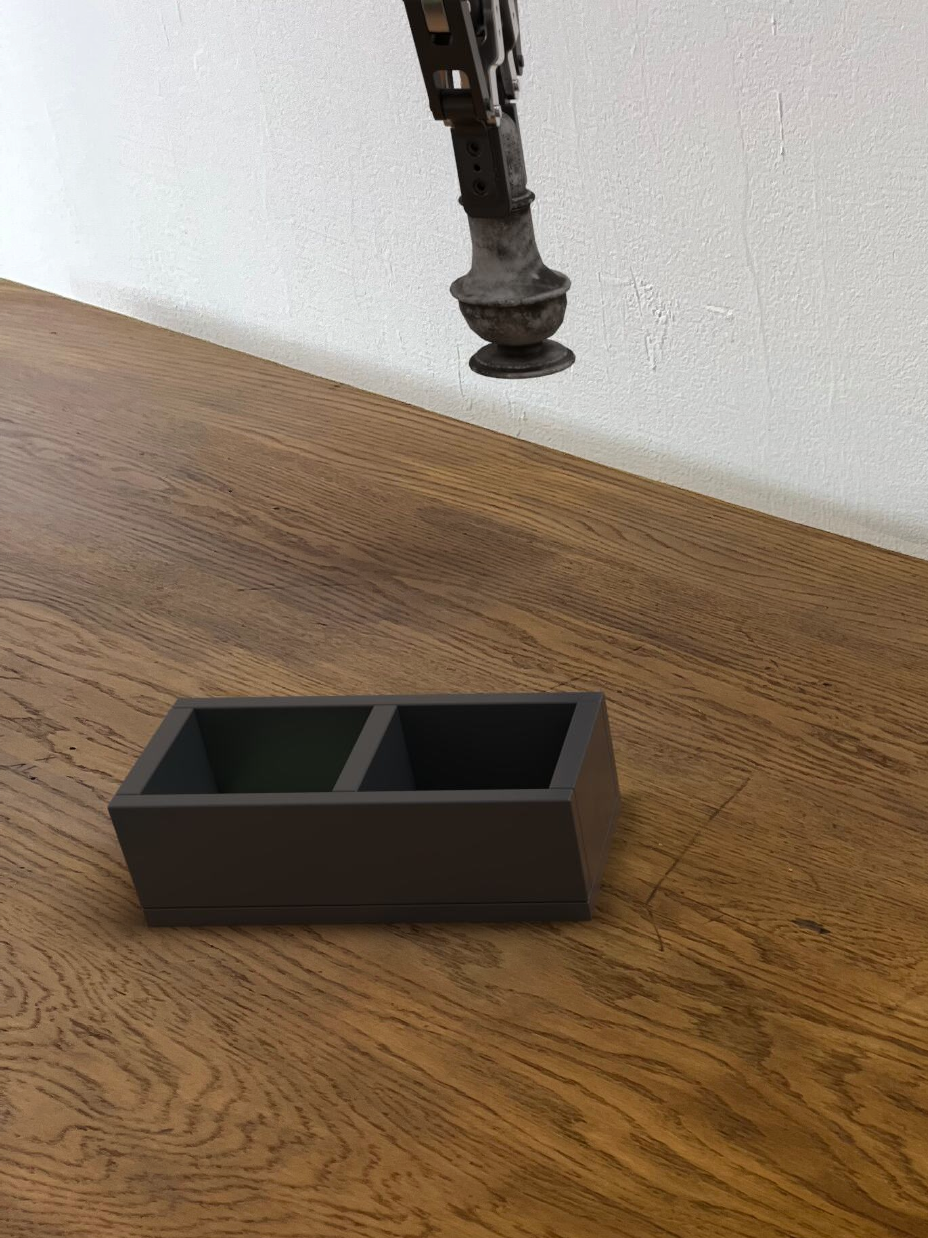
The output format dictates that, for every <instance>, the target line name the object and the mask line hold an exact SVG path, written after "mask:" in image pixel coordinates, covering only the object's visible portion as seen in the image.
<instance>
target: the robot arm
mask: <svg viewBox="0 0 928 1238" xmlns="http://www.w3.org/2000/svg"><path fill="white" fill-rule="evenodd" d="M401 1H402V3H403V5H404V10H405V13H406V17H407V20H408V25H409V28H410V33H411V36H412V40H413V44H414V49H415V51H416V56H417V59H418V64H419V67H420V71H421V75H422V79H423V83H424V87H425V89H426V90H425V92H426V95H427V98H428V107H429V111H430V112H431V113H432V116H433V120H434V121H436V122H437V121H438V122H441V121H442V122H443V125H444V127H445V128H449V130H450V131H449V132H450V136H451V142H452V148H453V153H454V154H453V155H454V161H455V168H456V173H457V179H458V184H459V191H460V196H461V197H462V203H463V206H462V208H463V210H464V211H463V212H465V213H466V216H467V215H469V216H470V217H472V218H504V217H506V216H507V215H508V214H509V213H510V211H511V209H512V206H513V202H512V195H511V189H510V182H509V176H508V169H507V162H506V156H505V149H504V143H503V136H502V130H501V125H500V118H501V117H502V112H504V113H505V114H507V115H508V116H510V118H511V119H512V120H513V121H514V123H515V125H516V128H517V130H518V137H519V144H520V151H521V158H522V164H523V171H524V178H525V185H526V186H527V184H528V176H527V169H526V162H525V156H524V148H523V142H522V135H521V128H520V122H519V114H518V107H517V103H516V102H511V101H519V99H520V98H519V97H520V93H521V83H520V82H521V81H520V79H519V78H518V77H522V76H523V72H524V68H525V59H524V55H523V51H522V41H521V30H520V29H521V28H520V15H519V6H518V5H519V4H518V0H401ZM453 71H458V73H459V79H460V87H458V88H457V87H455V84H454V83H455V82H454V75H453ZM501 111H502V112H501Z"/></svg>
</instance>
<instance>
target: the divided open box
mask: <svg viewBox="0 0 928 1238" xmlns="http://www.w3.org/2000/svg"><path fill="white" fill-rule="evenodd" d="M612 738H613V737H612V733H611V727H610V720H609V713H608V707H607V701H606V694H605V692H604V691H565V692H564V691H563V692H562V691H558V692H557V691H556V692H553V691H552V692H547V691H546V692H498V693H497V692H489V693H488V692H487V693H486V692H485V693H433V694H432V693H427V694H426V693H422V694H419V693H418V694H361V695H360V694H357V695H355V694H353V695H352V694H351V695H350V694H349V695H295V696H294V695H293V696H292V695H289V696H288V695H287V696H286V695H285V696H282V695H281V696H227V697H226V696H222V697H220V696H218V697H217V696H216V697H178V698H176V700H175V701H174V703H173V705H172V706H171V708H169V710H168V712H167V713H166V714H165V716H164V718H163V720H162V721H161V722H160V724H159V726H158V727H157V729H156V730H155V732H153V735H152V737H151V738H150V739H149V741H148V743H147V744H146V745H145V747H144V749H143V750H142V752H141V753H140V754H139V757H138V758H137V759H136V761H135V762H134V764H133V766H132V767H131V768H130V770H129V772H128V773H127V775H126V776H125V778H124V780H123V781H122V782H121V784H120V785H119V787H118V789H117V790H116V791H115V794H114V796H113V797H112V799H111V800H110V801H109V803H108V805H107V807H106V809H107V811H108V815H109V817H110V820H111V823H112V826H113V829H114V832H115V835H116V837H117V841H118V843H119V846H120V849H121V852H122V855H123V858H124V861H125V865H126V867H127V870H128V872H129V875H130V878H131V882H132V884H133V888H134V890H135V893H136V896H137V899H138V901H139V902H138V903H139V904H140V907H141V911H142V914H143V917H144V920H145V923H146V926H147V928H186V927H187V928H189V927H190V928H191V927H196V928H197V927H257V926H258V927H259V926H262V927H263V926H322V925H325V926H326V925H327V926H328V925H330V926H331V925H389V924H390V925H391V924H393V925H395V924H397V925H398V924H399V925H400V924H457V923H458V924H463V923H464V924H466V923H469V924H470V923H521V922H522V923H527V922H528V923H529V922H530V923H533V922H536V923H537V922H538V923H539V922H590V921H592V920H593V918H594V917H593V916H594V913H595V910H596V906H597V903H598V899H599V896H600V895H599V894H600V892H601V888H602V884H603V881H604V877H605V874H606V870H607V867H608V863H609V858H610V855H611V851H612V848H613V844H614V841H615V836H616V834H617V830H618V825H619V822H620V818H621V815H622V812H623V808H624V807H623V801H622V794H621V790H620V783H619V777H618V770H617V763H616V757H615V751H614V745H613V739H612Z"/></svg>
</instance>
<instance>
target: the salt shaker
mask: <svg viewBox="0 0 928 1238" xmlns="http://www.w3.org/2000/svg"><path fill="white" fill-rule="evenodd" d="M501 112H502V111H501ZM500 125H501V130H502V136H503V143H504V149H505V156H506V162H507V169H508V176H509V182H510V189H511V195H512V202H513V206H512V209H511V211H510V213H509V214H508V215H507V216H506V217H504V218H472V217H470V216H469V215H467V214H466V216H467V221H468V228H469V234H470V241H471V265H470V266H471V268H470V269H469V270H468V272H467V273H466V274H463V275H462V276H460V277H457V278H456V279H455V280H453V281H452V282H451V284H450V286H449V293H450V295H451V296H452V297H453V298H454V299H456V300H457V301H458V302H457V303H458V308H459V311H460V312H461V315H462V317H463V318H464V320H465V322H466V324H467V325H468V328H469V329H470V330H471V331H472V332H473V333H475V334H476V335H477V336H478V337H479V338H480V339H481V340H483V341H485V342H488V343H487V344H485V345H483V346H481V347H480V348H479V349H478V350H477V351H476V352H475V353H474V354H472V355H471V356H470V357H469V361H468V368H469V369H470V370H471V371H472V372H474V373H475V374H477V375H480V376H482V377H486V378H493V379H499V380H528V379H536V378H541V377H547V376H551V375H555V374H557V373H561V372H564V371H565V370H567V369H569V368H571V367H572V366H573V365H574V364H575V363H576V354H575V352H574V351H573V350H572V349H570V348H569V347H567V346H565V345H564V344H562V343H560V342H559V341H556V340H554V339H550V338H552V337H553V336H554V335H555V334H556V333H557V332H558V330H559V329H560V327H561V326H562V325H563V323H564V319H565V316H566V310H567V306H568V298H567V292H569V290H570V289H571V287H572V280H571V279H570V277H569V276H568V275H567V274H565V273H564V272H561V271H559V270H556V269H552V268H549V267H548V266H547V265H546V264H545V263H544V261H543V258H542V256H541V254H540V251H539V248H538V245H537V241H536V235H535V228H534V222H533V216H532V215H533V214H532V209H531V204H532V203H533V202H535V199H536V194H535V193H534V191H533V190H532V191H531V190H530V189H529V188H527V184H526V185H525V178H524V171H523V164H522V158H521V151H520V144H519V137H518V130H517V128H516V125H515V123H514V121H513V120H512V119H511V118H510V116H508V115H507V114H505V113H504V112H502V117H501V118H500ZM457 202H458V204H459V205H460V206H462V207H463V203H462V197H461V195H459V197H458V199H457Z"/></svg>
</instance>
